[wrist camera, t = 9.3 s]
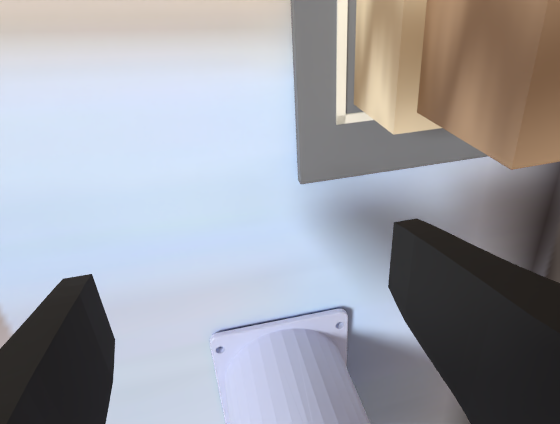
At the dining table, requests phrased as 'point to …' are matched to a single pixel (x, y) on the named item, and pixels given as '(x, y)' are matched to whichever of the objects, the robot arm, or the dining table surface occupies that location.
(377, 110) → the oak block
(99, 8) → the dining table surface
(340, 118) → the mat
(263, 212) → the dining table surface
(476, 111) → the walnut block
